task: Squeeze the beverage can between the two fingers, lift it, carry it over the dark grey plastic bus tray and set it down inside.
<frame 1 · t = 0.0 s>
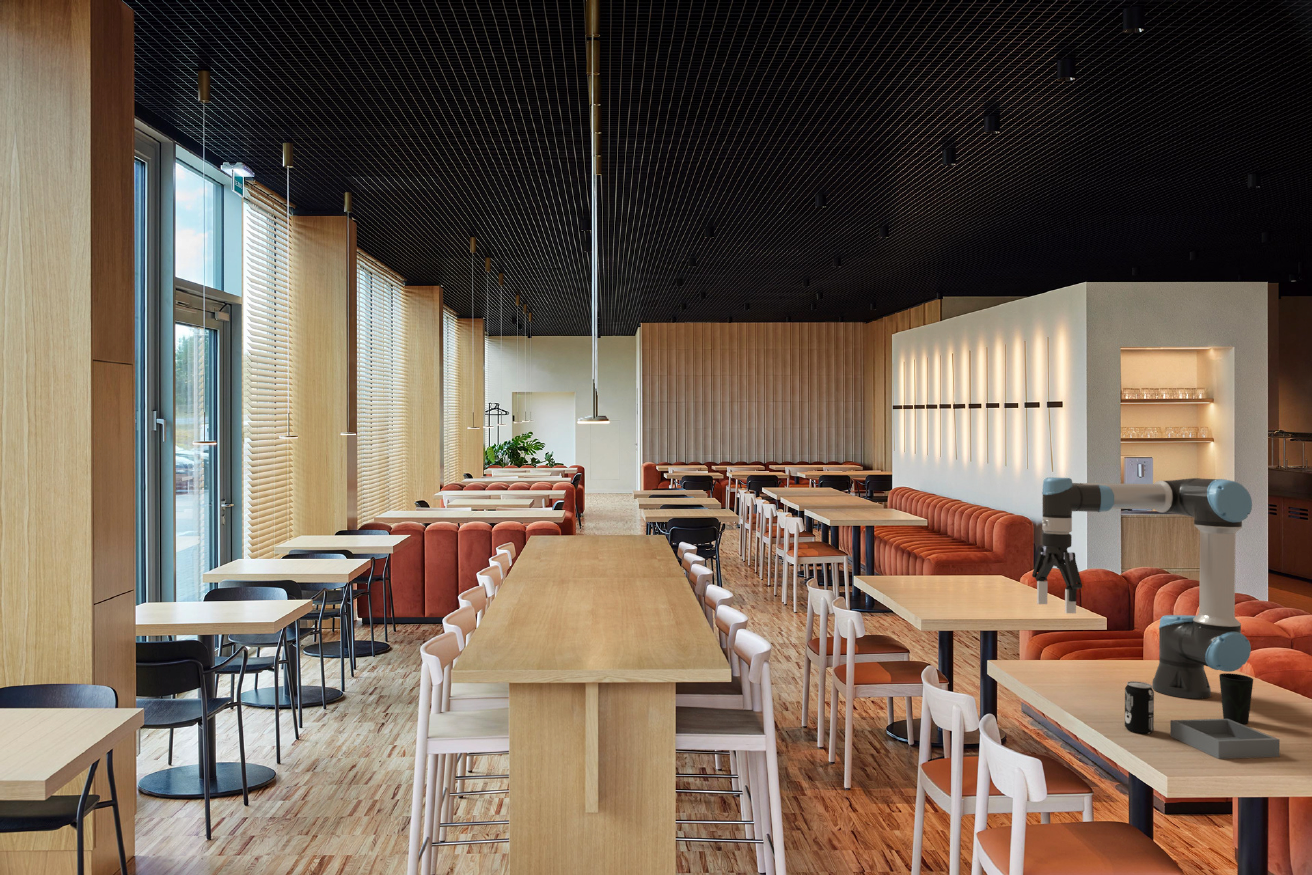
hand: (1055, 608, 246), 28 cm above the table, fingers open, 13 cm apart
beverage can: (1138, 731, 227), on the table
cup: (1235, 722, 237), on the table
bus tray: (1223, 746, 216), on the table
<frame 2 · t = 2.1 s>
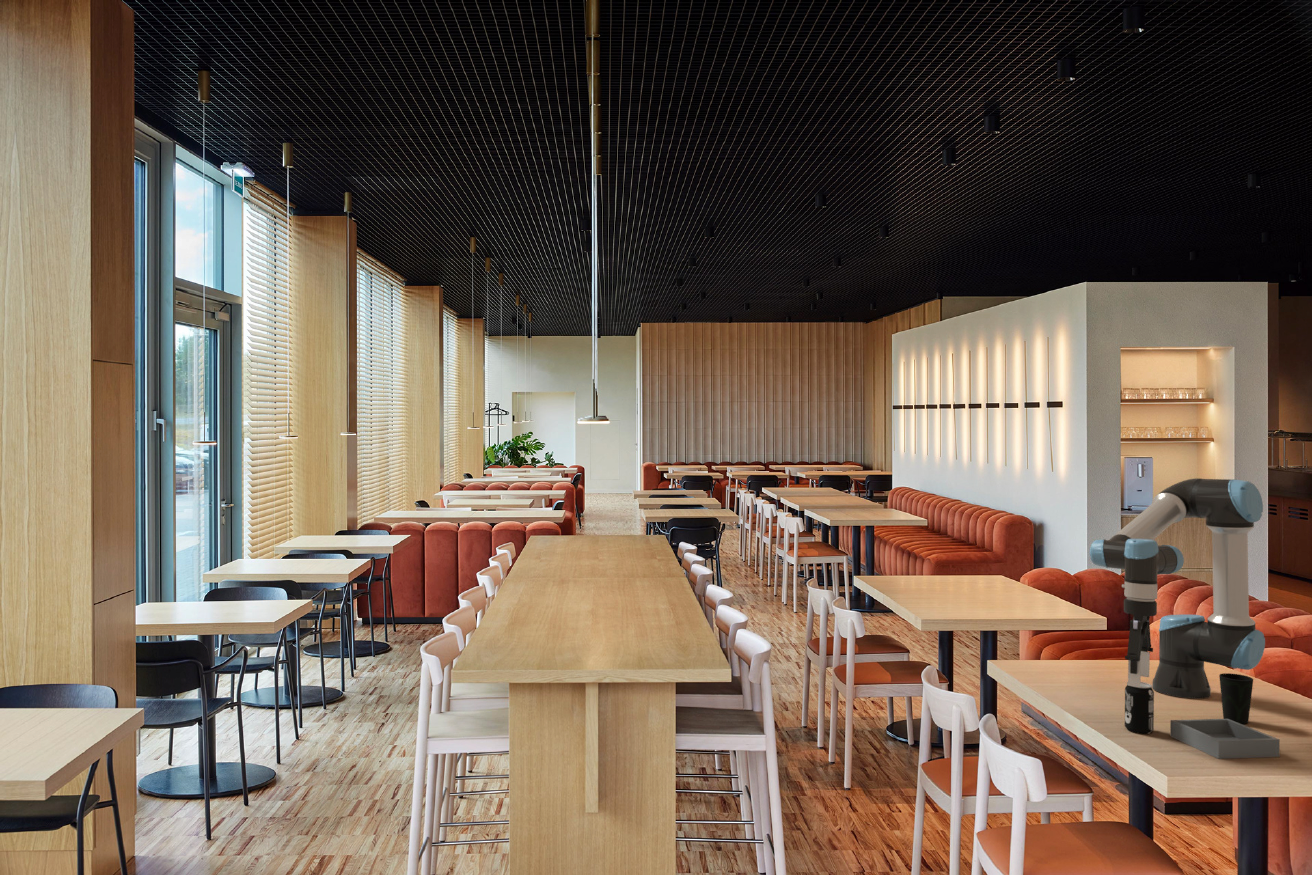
hand: (1138, 681, 227), 13 cm above the table, fingers open, 13 cm apart
nothing on the table moved.
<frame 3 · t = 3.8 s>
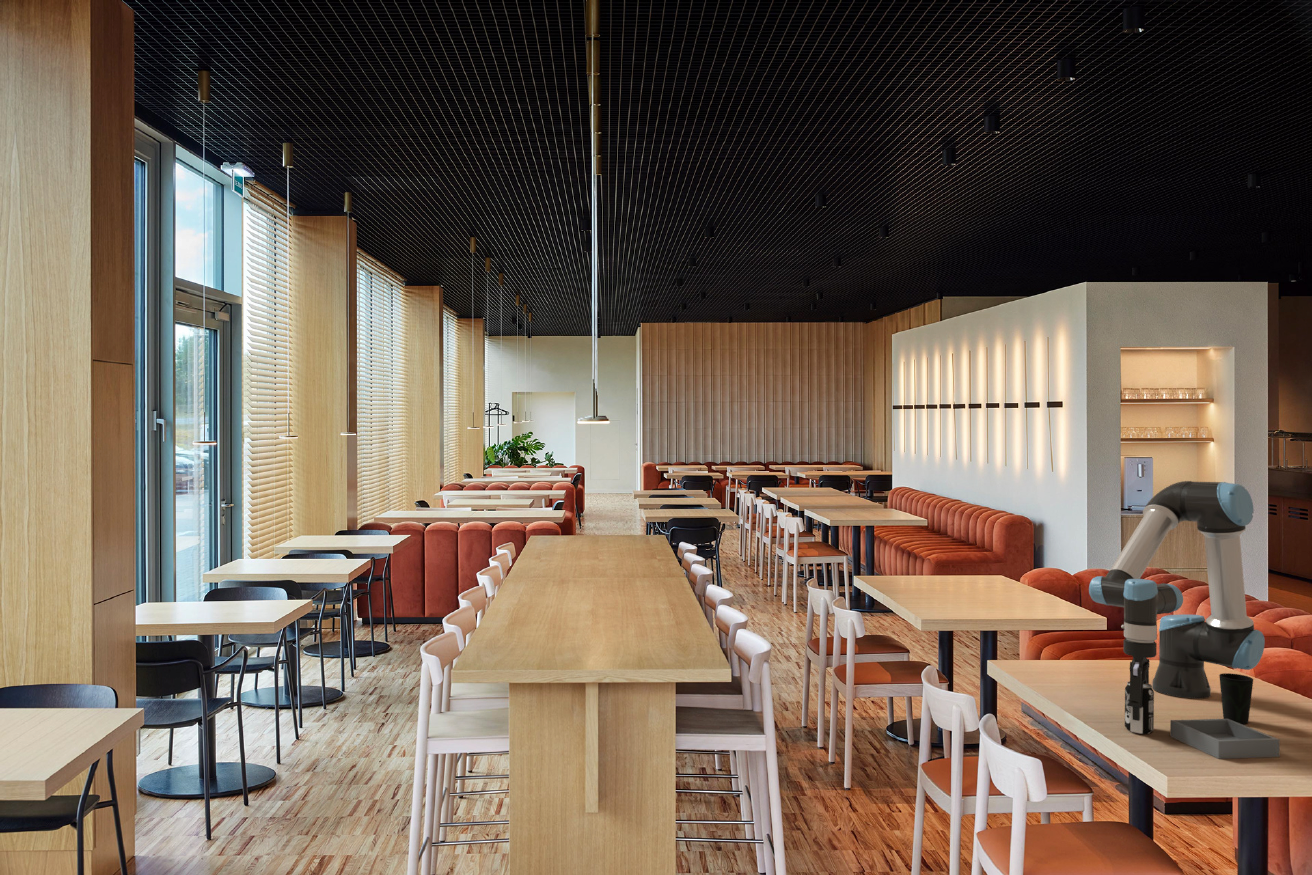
hand: (1139, 728, 227), 0 cm above the table, fingers closed on beverage can, 7 cm apart
beverage can: (1138, 731, 227), on the table, touching gripper
everything else where it was.
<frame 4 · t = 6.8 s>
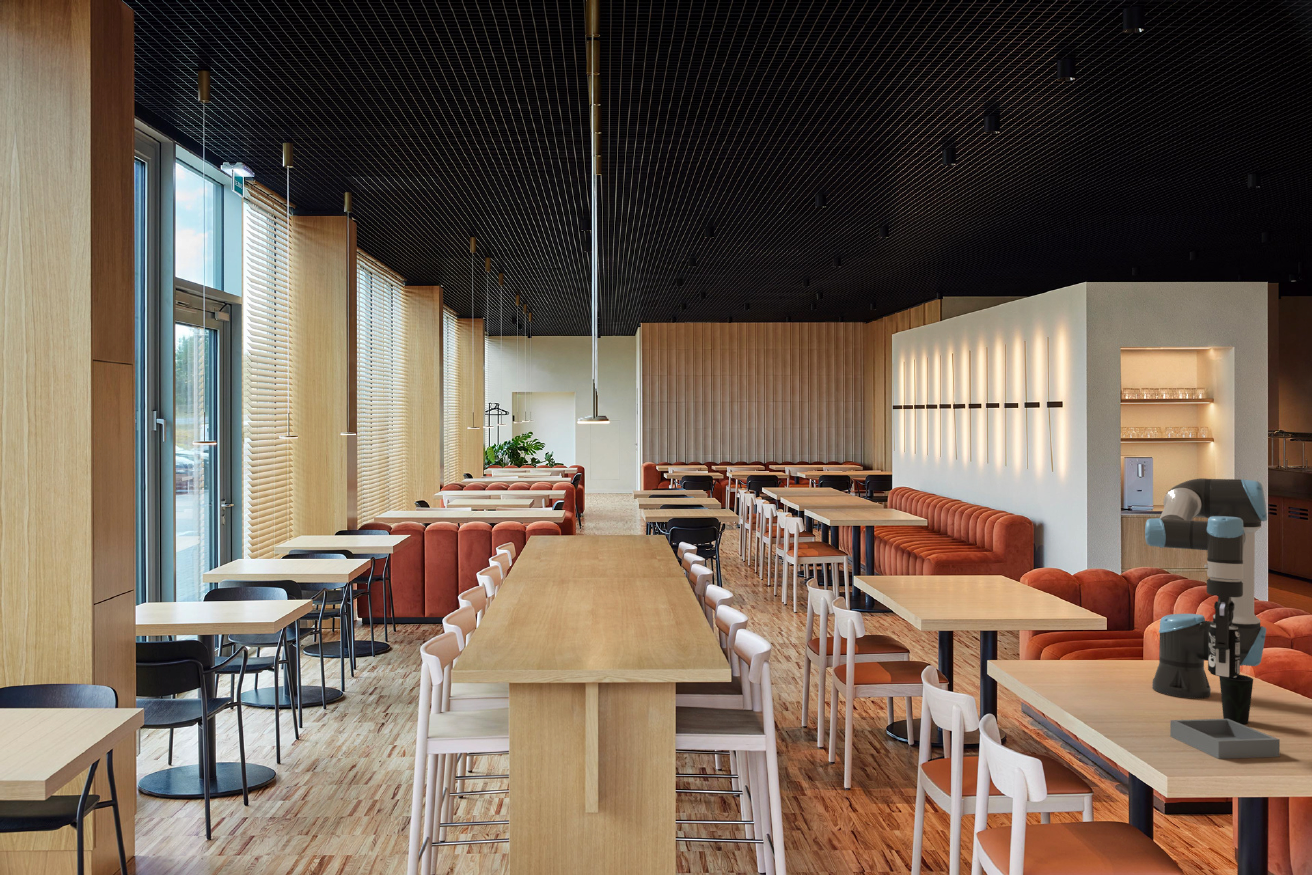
hand: (1223, 672, 216), 18 cm above the table, fingers closed on beverage can, 7 cm apart
beverage can: (1223, 675, 216), point 17 cm above the table, touching gripper
everything else where it was.
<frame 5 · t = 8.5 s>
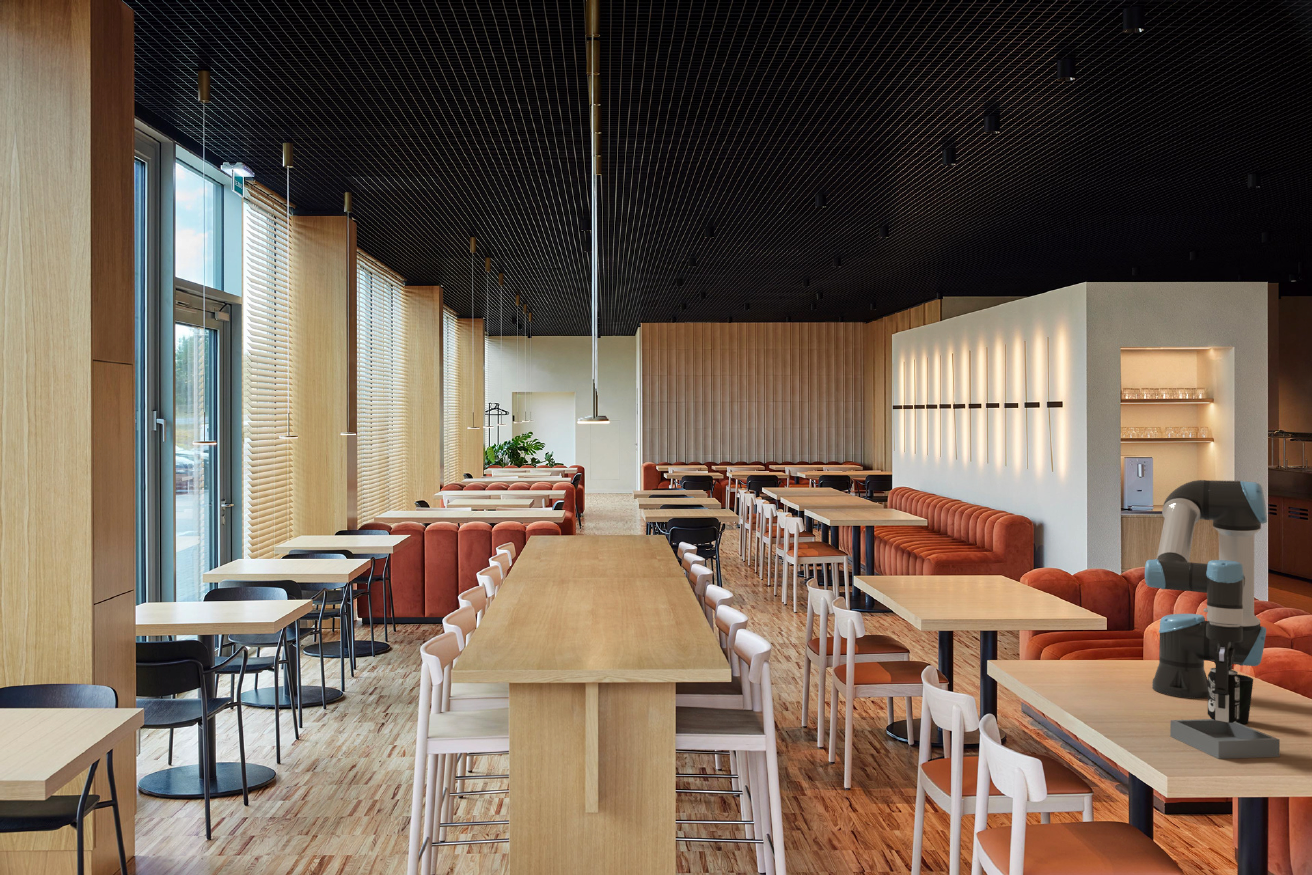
hand: (1223, 717, 216), 7 cm above the table, fingers closed on beverage can, 7 cm apart
beverage can: (1223, 720, 216), point 6 cm above the table, touching gripper
everything else where it was.
when the fingers open (3 cm above the table, at t = 9.8 s): beverage can drops 2 cm, resting on bus tray.
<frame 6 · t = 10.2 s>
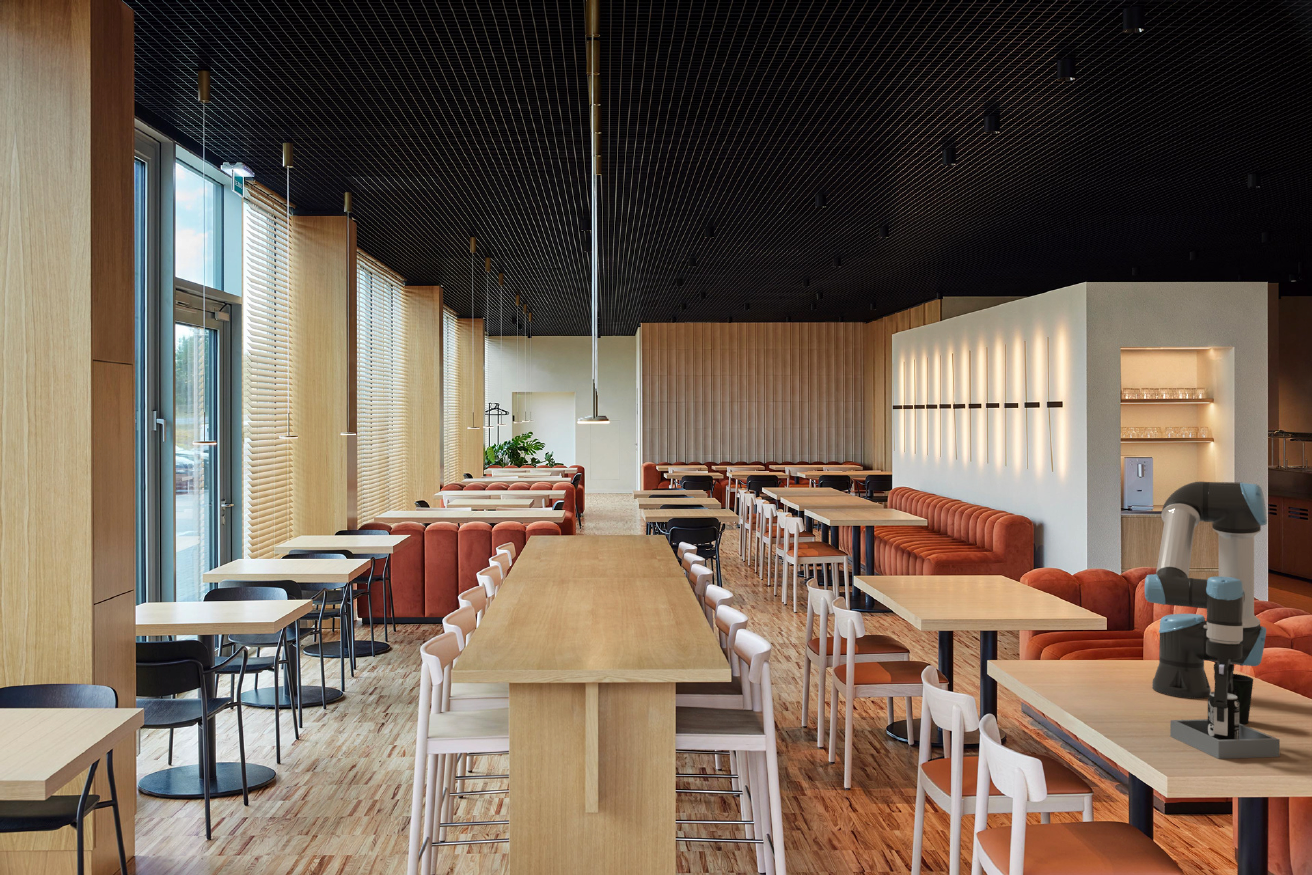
hand: (1223, 727, 216), 5 cm above the table, fingers open, 12 cm apart
beverage can: (1223, 744, 216), resting on bus tray
everything else where it was.
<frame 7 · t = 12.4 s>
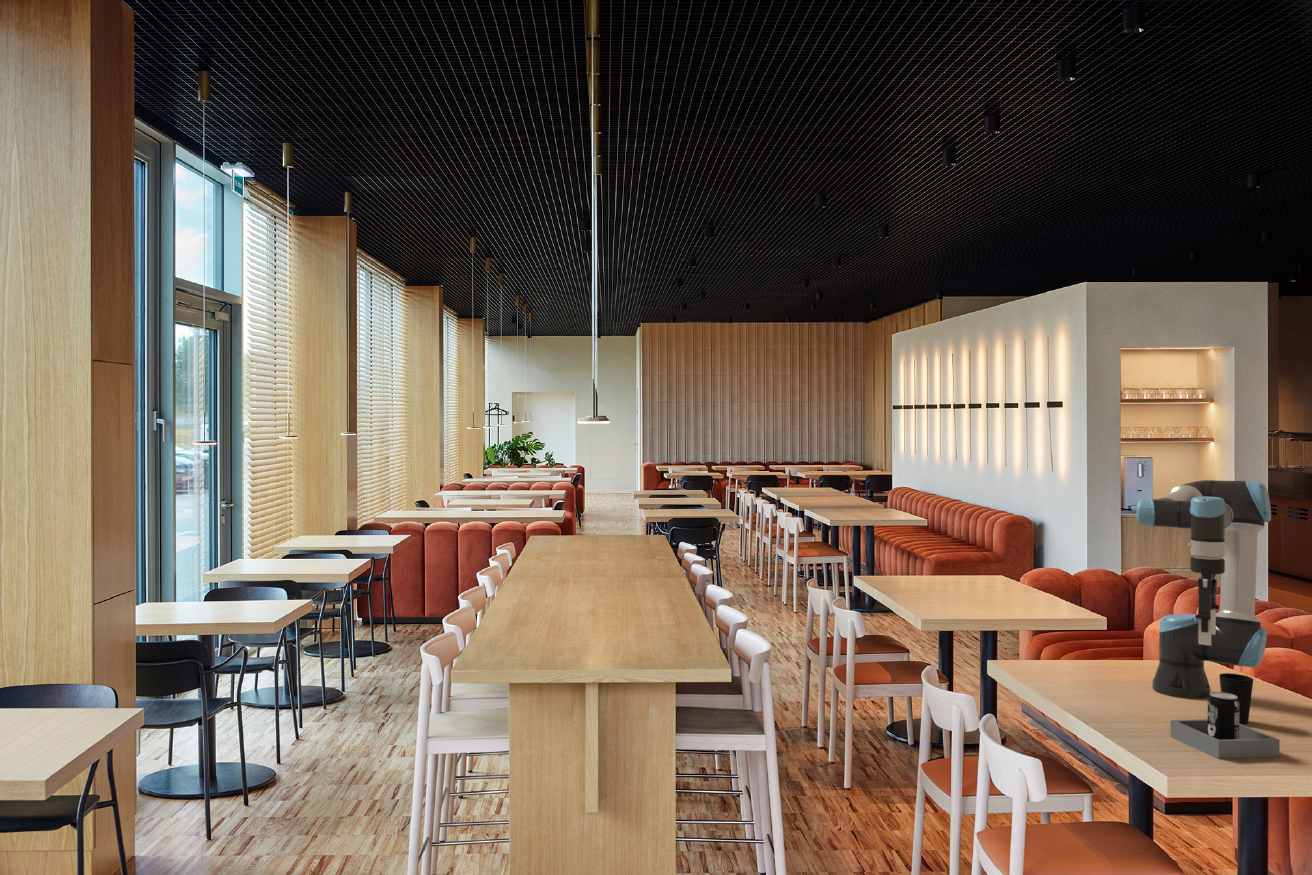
hand: (1207, 639, 226), 24 cm above the table, fingers open, 13 cm apart
nothing on the table moved.
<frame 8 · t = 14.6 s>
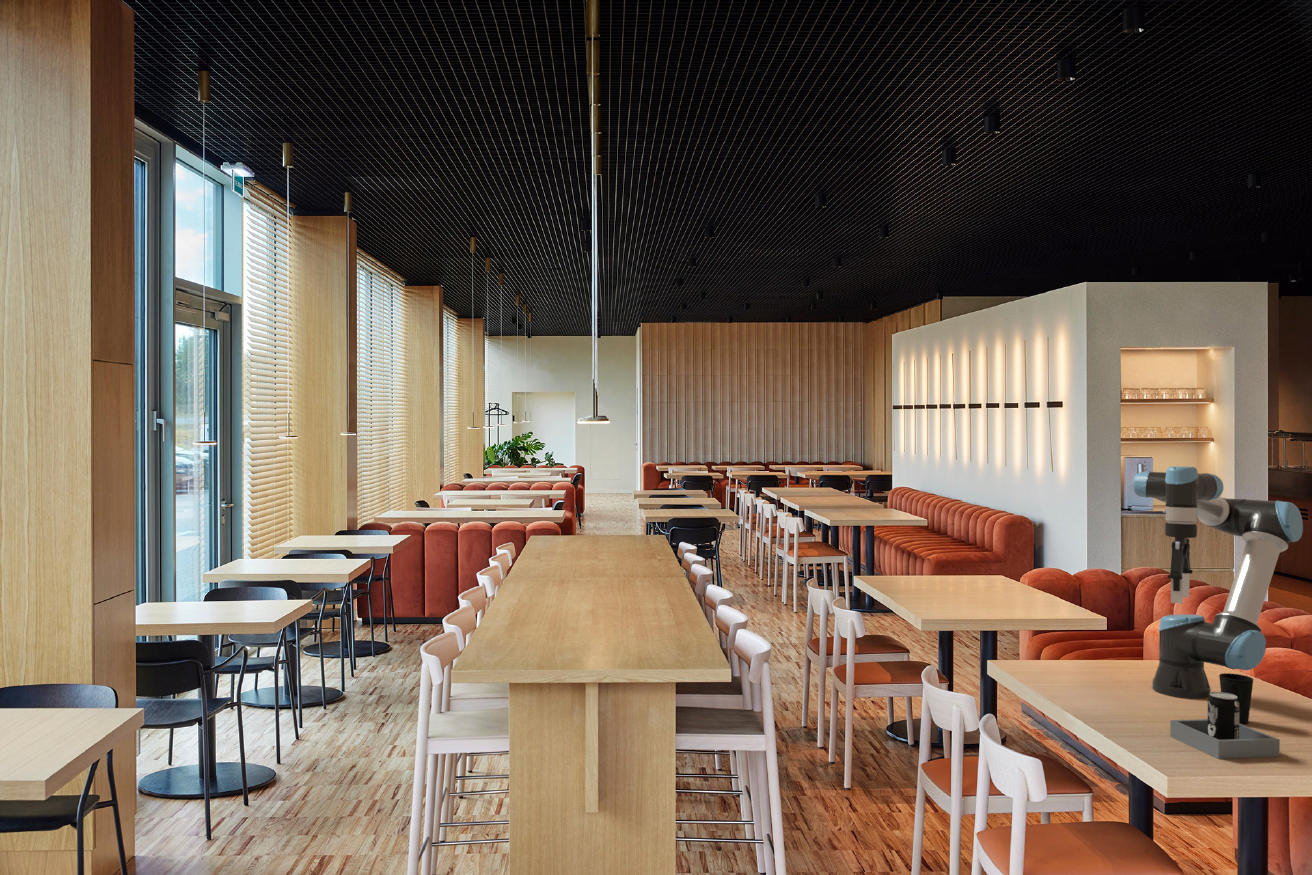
hand: (1180, 599, 241), 32 cm above the table, fingers open, 13 cm apart
nothing on the table moved.
at the end: beverage can inside the target area on the bus tray (0.1 cm from its centre), point 0.4 cm above the bus tray's base; beverage can tilted 0°; the gripper is holding nothing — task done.
